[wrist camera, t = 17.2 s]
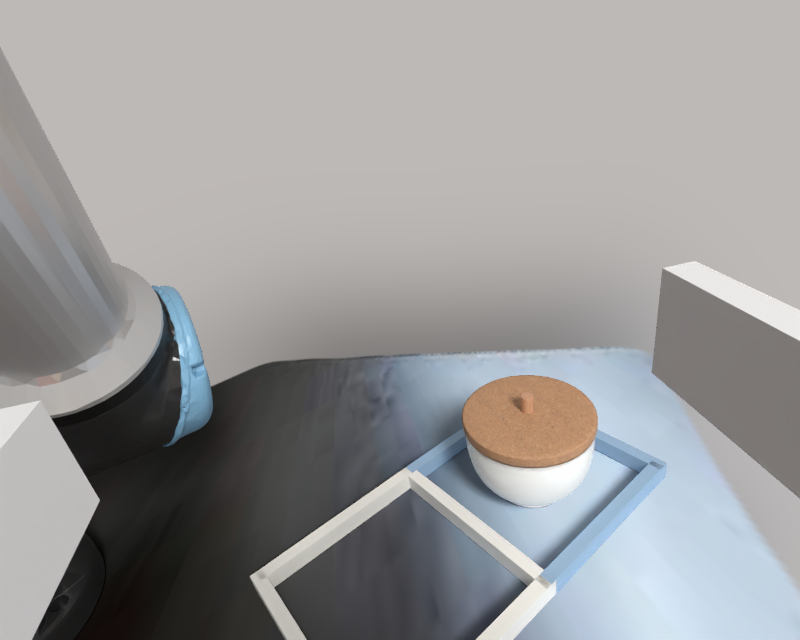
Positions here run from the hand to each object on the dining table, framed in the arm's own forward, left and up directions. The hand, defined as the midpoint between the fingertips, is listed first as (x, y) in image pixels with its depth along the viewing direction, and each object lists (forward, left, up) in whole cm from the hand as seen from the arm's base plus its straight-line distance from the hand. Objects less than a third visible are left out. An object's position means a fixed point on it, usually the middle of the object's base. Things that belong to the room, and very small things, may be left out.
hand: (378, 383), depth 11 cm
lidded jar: (-14, +21, -28) cm, 38 cm away
